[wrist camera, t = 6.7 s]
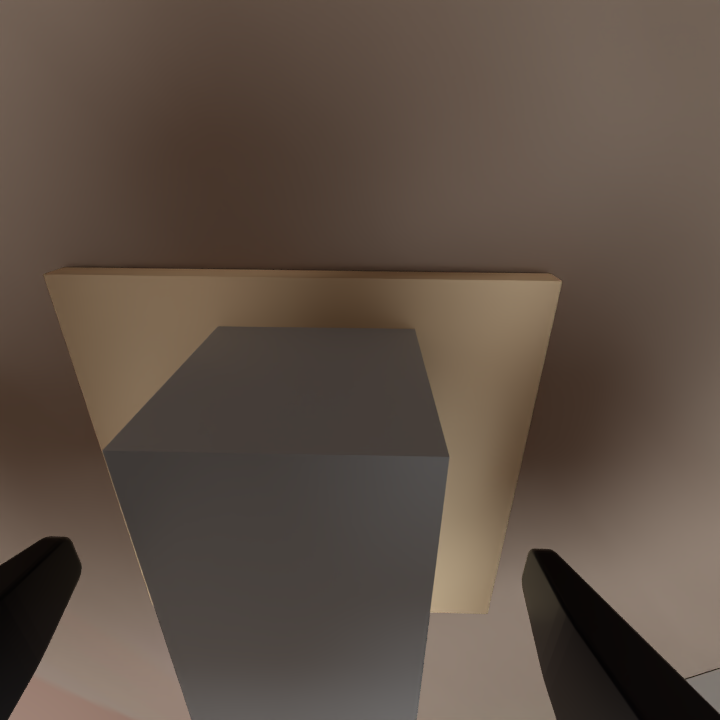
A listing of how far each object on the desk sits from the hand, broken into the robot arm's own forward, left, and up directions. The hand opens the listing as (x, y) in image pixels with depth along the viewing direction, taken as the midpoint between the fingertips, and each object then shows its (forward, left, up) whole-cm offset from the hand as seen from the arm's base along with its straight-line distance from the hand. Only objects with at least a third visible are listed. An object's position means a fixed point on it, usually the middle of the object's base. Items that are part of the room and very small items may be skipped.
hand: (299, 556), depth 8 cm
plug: (+2, +1, 0) cm, 2 cm away
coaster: (0, 0, -3) cm, 3 cm away
